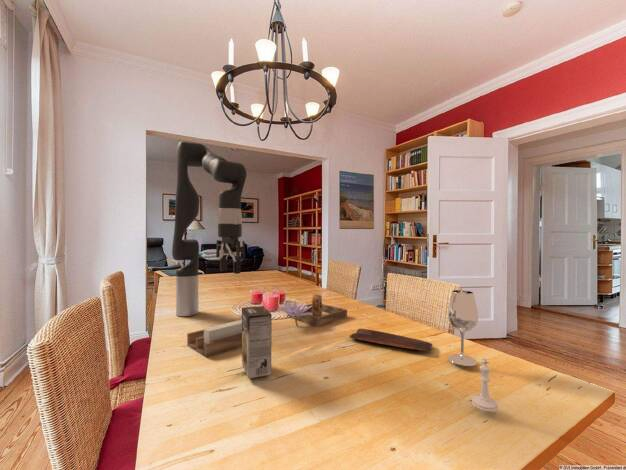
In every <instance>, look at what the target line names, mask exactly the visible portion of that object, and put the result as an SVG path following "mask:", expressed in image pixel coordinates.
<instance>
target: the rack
mask: <svg viewBox="0 0 626 470" xmlns="http://www.w3.org/2000/svg"><path fill="white" fill-rule="evenodd" d="M186 334H187V335H186V339H187V340H186V341H187V345H186V346H187V347H189V348H190V349H191V350H193V351H195V352H197V353H198V354H200V355H202V356H203V357H204V358H206V359H207V358H211V357H214V356H217V355H220V354H223V353H228V352H230V351H232V350H235V349H236V350H237V349H239V348H242V333H240V334H237V335H233V336H229V337H226V338H222V339H219V340H215V341H211V342H208V343H205V348H204V329H200V330H195V331H192V332H187V333H186Z"/></svg>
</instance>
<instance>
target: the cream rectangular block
mask: <svg viewBox="0 0 626 470" xmlns="http://www.w3.org/2000/svg"><path fill="white" fill-rule="evenodd" d="M203 330H204V348H205V343H208V342H211V341H215V340H219V339H222V338H226V337H229V336H233V335H237V334H240V333H242V319H239V320H238V319H237V320H234V321H231V322H227V323H223V324H222V323H221V324H218V325H213V326H209V327H205V328H203Z"/></svg>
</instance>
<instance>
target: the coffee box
mask: <svg viewBox="0 0 626 470" xmlns="http://www.w3.org/2000/svg"><path fill="white" fill-rule="evenodd" d="M272 316H273V314H272V312H270V311H269V310H268V309H267V308H266V307H264V305H262V306H246V307H242V308H241V320H242V347H241V358H242V359H241V362H242V367H243V370H244V372H245V374H246V376H247V379H254V378H259V377H263V376H270V375H272V338H273V337H272V333H273V332H272V329H273V328H272V325H273V323H272Z"/></svg>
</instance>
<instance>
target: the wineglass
mask: <svg viewBox="0 0 626 470" xmlns="http://www.w3.org/2000/svg"><path fill="white" fill-rule="evenodd" d="M477 307H478V306H477V302H476V297H475V294H474V291H471V290H464V289H454V290H451V294H450V297H449V303H448V308H447V319H448V322H449V323H450V325H451V326H452V327H453V328H454V329H455V330H457V331H459V333H460V354H459V353H457V354H450V355H448V356H447V358H448V360H449V361H450V362H451V363H453V364H455V365H459V366H462V367H463V366H464V367H474V366H476V365H478V361H477V360H476V359H475V358H473V357H471V356H469V355H465V350H464V348H465V347H464V346H465V345H464V344H465V333H466V332H469V331H471V330H472V329H474V328H475V327H476V326H477V323H478V321H479V320H478V319H479V314H478V308H477Z"/></svg>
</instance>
